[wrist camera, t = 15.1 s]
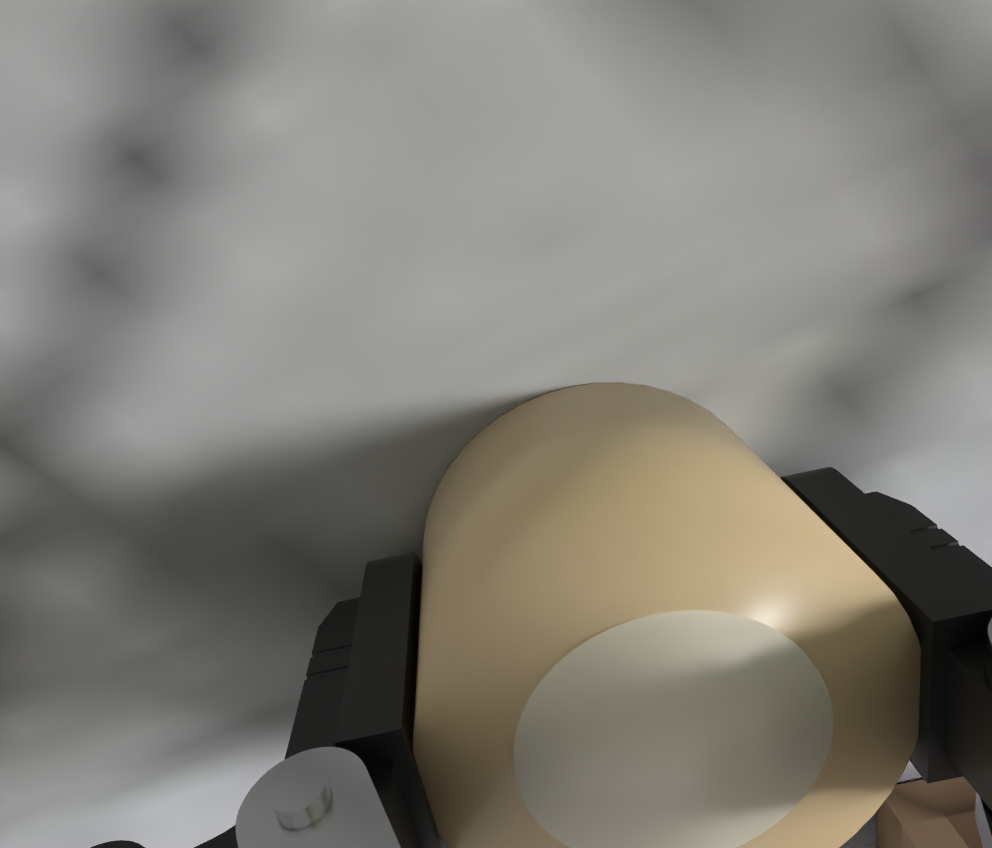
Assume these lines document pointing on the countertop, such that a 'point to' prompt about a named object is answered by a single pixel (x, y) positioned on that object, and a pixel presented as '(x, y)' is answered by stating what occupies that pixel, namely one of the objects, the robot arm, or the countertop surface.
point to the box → (929, 816)
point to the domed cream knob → (648, 641)
